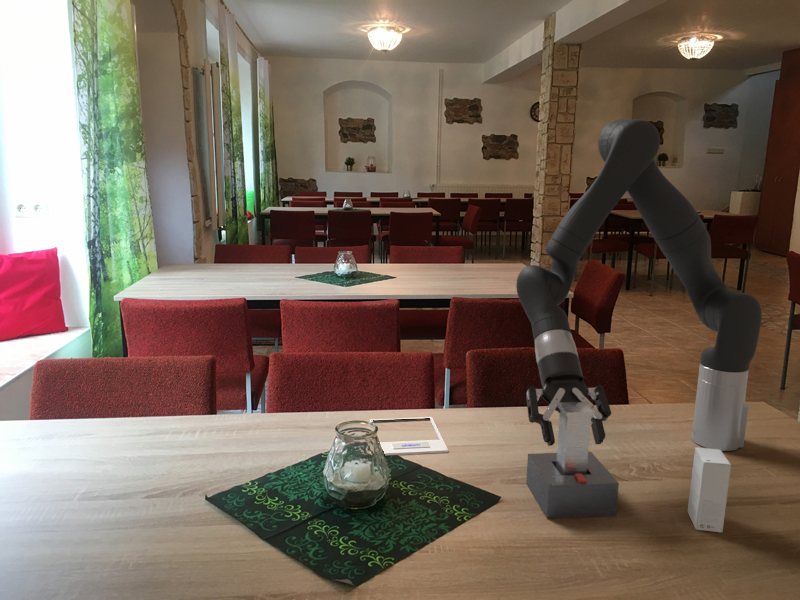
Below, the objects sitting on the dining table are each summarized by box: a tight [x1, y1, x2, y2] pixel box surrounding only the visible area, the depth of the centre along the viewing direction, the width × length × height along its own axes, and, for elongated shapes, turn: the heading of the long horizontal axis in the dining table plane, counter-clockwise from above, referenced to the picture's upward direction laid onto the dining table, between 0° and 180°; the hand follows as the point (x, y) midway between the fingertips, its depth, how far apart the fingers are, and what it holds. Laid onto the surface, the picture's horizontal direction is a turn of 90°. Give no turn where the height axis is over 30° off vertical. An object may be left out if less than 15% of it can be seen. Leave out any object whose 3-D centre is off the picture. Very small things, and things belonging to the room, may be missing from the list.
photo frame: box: [368, 416, 449, 457], centre depth 139 cm, size 15×1×18 cm
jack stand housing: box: [525, 451, 620, 520], centre depth 112 cm, size 12×12×6 cm
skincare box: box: [687, 446, 732, 533], centre depth 105 cm, size 6×4×12 cm
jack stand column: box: [556, 402, 594, 476], centre depth 111 cm, size 5×5×17 cm
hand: (575, 443), depth 109 cm, fingers open, 8 cm apart
